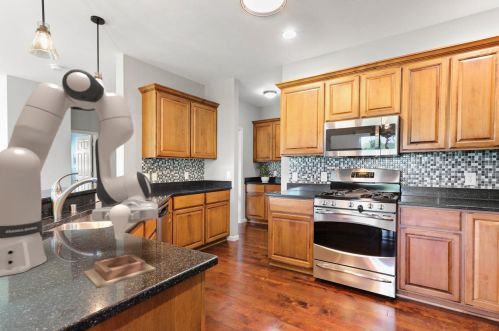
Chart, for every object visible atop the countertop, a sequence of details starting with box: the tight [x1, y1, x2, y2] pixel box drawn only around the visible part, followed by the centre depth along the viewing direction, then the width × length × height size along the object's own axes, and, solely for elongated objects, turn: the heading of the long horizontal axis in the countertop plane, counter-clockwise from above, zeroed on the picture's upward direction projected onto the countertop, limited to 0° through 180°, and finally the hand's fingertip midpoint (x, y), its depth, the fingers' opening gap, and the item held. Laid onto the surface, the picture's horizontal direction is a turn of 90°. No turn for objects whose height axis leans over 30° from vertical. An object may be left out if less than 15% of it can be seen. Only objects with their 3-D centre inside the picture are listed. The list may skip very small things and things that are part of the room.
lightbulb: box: [109, 203, 131, 241], centre depth 77 cm, size 6×6×11 cm
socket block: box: [83, 253, 156, 289], centre depth 77 cm, size 16×14×3 cm
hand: (119, 217), depth 76 cm, fingers closed on lightbulb, 5 cm apart
